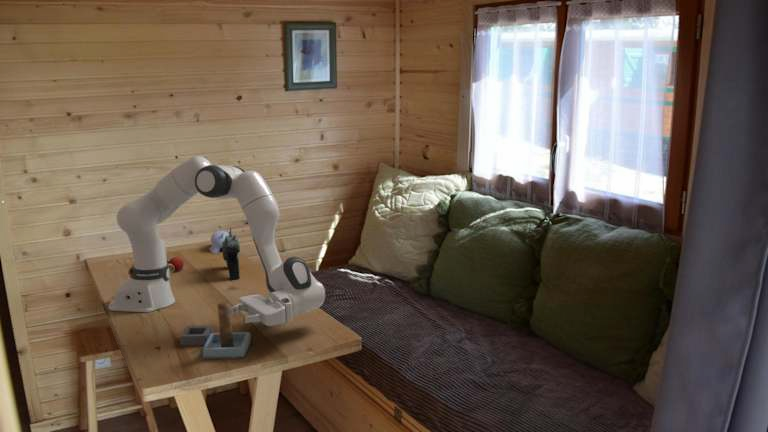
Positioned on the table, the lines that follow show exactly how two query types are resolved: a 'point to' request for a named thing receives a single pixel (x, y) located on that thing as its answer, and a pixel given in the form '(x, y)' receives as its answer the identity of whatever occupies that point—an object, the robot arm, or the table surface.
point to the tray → (215, 350)
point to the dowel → (225, 324)
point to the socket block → (195, 335)
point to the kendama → (175, 264)
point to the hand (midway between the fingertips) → (237, 315)
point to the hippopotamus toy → (217, 240)
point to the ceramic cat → (231, 255)
